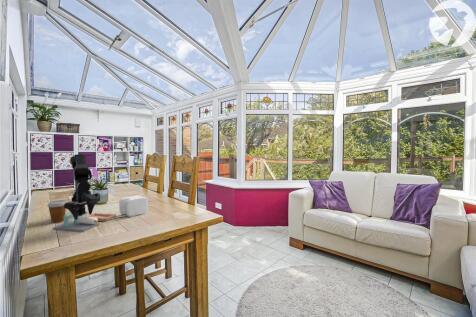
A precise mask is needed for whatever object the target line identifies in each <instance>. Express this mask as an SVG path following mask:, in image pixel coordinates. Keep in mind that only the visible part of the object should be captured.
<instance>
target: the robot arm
mask: <svg viewBox="0 0 476 317" xmlns="http://www.w3.org/2000/svg"><path fill="white" fill-rule="evenodd" d="M69 160H70V162H69V164H70V165H71V169H72V170H73V180H74V191H73V193H72V197H71V200H70V201H66V202H67V203H65V204H64V208H66V210H68V212H70V214H72V215H73V216H74V217H73V219H74V218H75V219H78V218H79V217H80V216H82V215H85V214H87V213H88V215H91V214H93V212H94V208H95V206H96V204H98V203H99V202H100V201H101V194H100V193H98V192H96V193H93V194H92V191H91V190H90V189H91V185H90V183H89V181H91V180H92V178H93V174H92V173H93V172H92V170H91V168H89V166H88V165H87V156H85V155H84V154H83V153H82V154H81V153H80V154H76V153H75V154H74V155H73V156H70V159H69ZM86 206H87V211H88V212H86Z"/></svg>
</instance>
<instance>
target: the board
mask: <svg viewBox="0 0 476 317" xmlns="http://www.w3.org/2000/svg"><path fill="white" fill-rule="evenodd" d="M98 226H100V223H99V222H97V223H96V224H95V225H94V224H82V223H74V220H69V226H68V227H64V223H61V224H59V225H56V226H53V227H52V229H53V230H59V231H71V232H82V233H83V232H86V231H88V230H91V229H93V228H95V227H98Z"/></svg>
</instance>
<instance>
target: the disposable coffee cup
mask: <svg viewBox="0 0 476 317" xmlns="http://www.w3.org/2000/svg"><path fill="white" fill-rule="evenodd" d="M67 202H68V201H67V200H55V201H50V202H48V204H47V207H48V212H49V215H50V220H51V223H53V224H58V223H62V222H64V216H66V210H67V209H66V208H64V204H65V203H67Z"/></svg>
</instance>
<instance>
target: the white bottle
mask: <svg viewBox="0 0 476 317" xmlns="http://www.w3.org/2000/svg"><path fill="white" fill-rule="evenodd" d="M77 221H78V223H82V224H94V225H95V224H96V223H99V221H98V219H97V218H96V217H85V216H82V215H79V216H78V220H77Z"/></svg>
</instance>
